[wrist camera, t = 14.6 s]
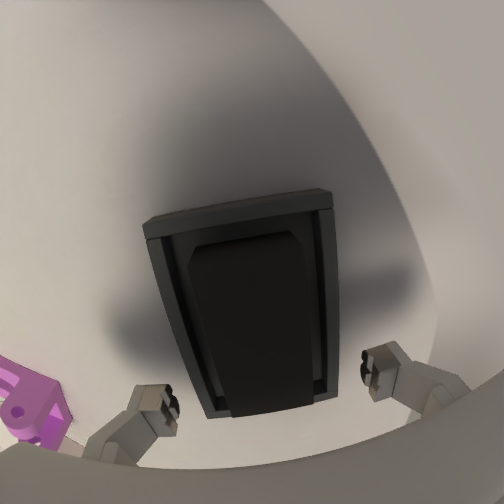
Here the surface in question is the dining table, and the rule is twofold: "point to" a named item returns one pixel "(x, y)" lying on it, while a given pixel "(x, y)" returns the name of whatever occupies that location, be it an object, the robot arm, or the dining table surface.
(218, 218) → the base tray
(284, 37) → the dining table surface
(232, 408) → the black rectangular block
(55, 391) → the bracket
